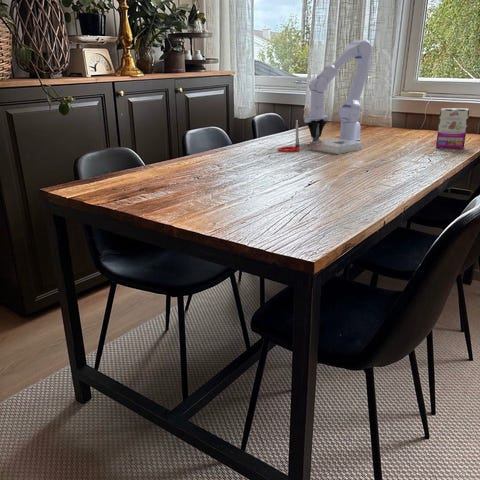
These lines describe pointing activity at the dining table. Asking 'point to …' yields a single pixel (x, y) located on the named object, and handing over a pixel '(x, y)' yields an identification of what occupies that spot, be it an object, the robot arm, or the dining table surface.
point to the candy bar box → (452, 128)
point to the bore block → (336, 145)
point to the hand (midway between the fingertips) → (315, 136)
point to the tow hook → (295, 144)
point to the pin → (317, 134)
